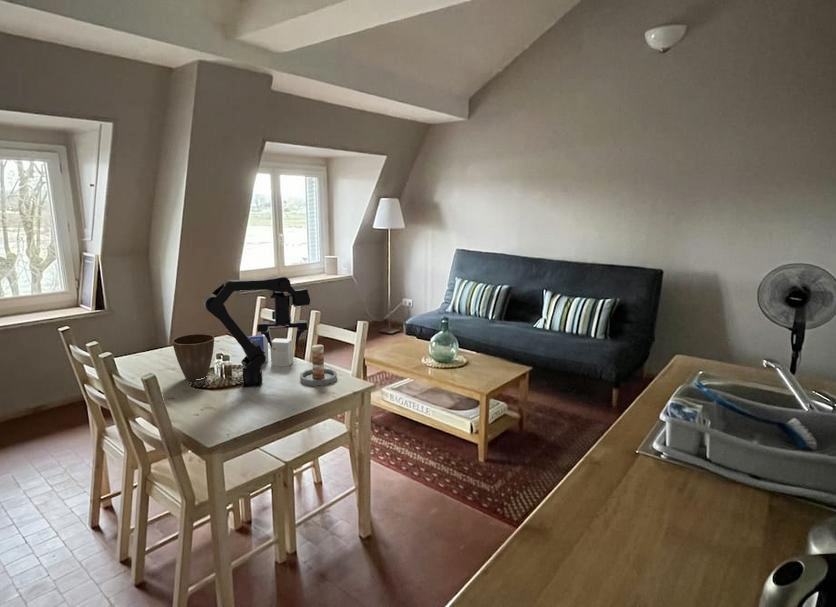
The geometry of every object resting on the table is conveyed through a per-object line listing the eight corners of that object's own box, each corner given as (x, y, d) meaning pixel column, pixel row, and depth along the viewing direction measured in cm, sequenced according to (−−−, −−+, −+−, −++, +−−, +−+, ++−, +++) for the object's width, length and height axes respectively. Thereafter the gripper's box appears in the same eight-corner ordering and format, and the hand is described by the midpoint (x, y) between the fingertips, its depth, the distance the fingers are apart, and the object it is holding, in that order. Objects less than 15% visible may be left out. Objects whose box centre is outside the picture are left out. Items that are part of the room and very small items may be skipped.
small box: (293, 362, 213) (292, 338, 211) (289, 366, 208) (288, 342, 206) (275, 361, 214) (274, 338, 212) (270, 365, 209) (269, 341, 206)
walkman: (250, 364, 210) (248, 337, 207) (249, 362, 212) (247, 335, 210) (269, 361, 213) (268, 335, 211) (268, 359, 216) (266, 333, 213)
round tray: (300, 386, 186) (299, 381, 186) (300, 373, 199) (300, 369, 199) (337, 384, 189) (337, 379, 188) (335, 372, 202) (335, 367, 202)
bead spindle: (315, 380, 191) (314, 348, 188) (310, 377, 194) (309, 345, 192) (326, 378, 194) (326, 346, 191) (321, 374, 197) (320, 343, 195)
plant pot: (177, 373, 197) (174, 335, 194) (217, 369, 202) (214, 332, 199) (173, 386, 183) (170, 346, 180) (216, 382, 189) (213, 342, 185)
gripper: (307, 303, 198) (308, 340, 201) (259, 304, 194) (261, 342, 197) (307, 309, 187) (308, 348, 190) (256, 310, 183) (258, 350, 187)
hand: (283, 347), depth 191 cm, fingers open, 9 cm apart
